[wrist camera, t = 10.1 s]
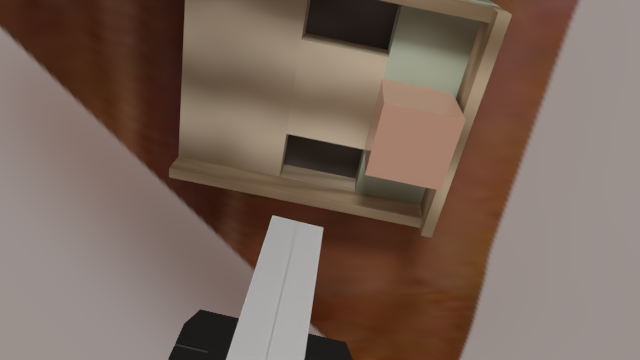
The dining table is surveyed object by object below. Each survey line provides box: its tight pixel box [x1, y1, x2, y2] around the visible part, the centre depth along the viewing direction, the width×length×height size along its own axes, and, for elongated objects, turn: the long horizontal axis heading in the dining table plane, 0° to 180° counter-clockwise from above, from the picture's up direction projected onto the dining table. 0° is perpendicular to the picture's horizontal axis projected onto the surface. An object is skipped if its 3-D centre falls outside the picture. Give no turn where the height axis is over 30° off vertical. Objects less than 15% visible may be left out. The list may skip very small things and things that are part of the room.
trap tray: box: [169, 0, 512, 237], centre depth 34 cm, size 16×20×6 cm
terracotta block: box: [365, 79, 466, 190], centre depth 32 cm, size 5×5×5 cm
